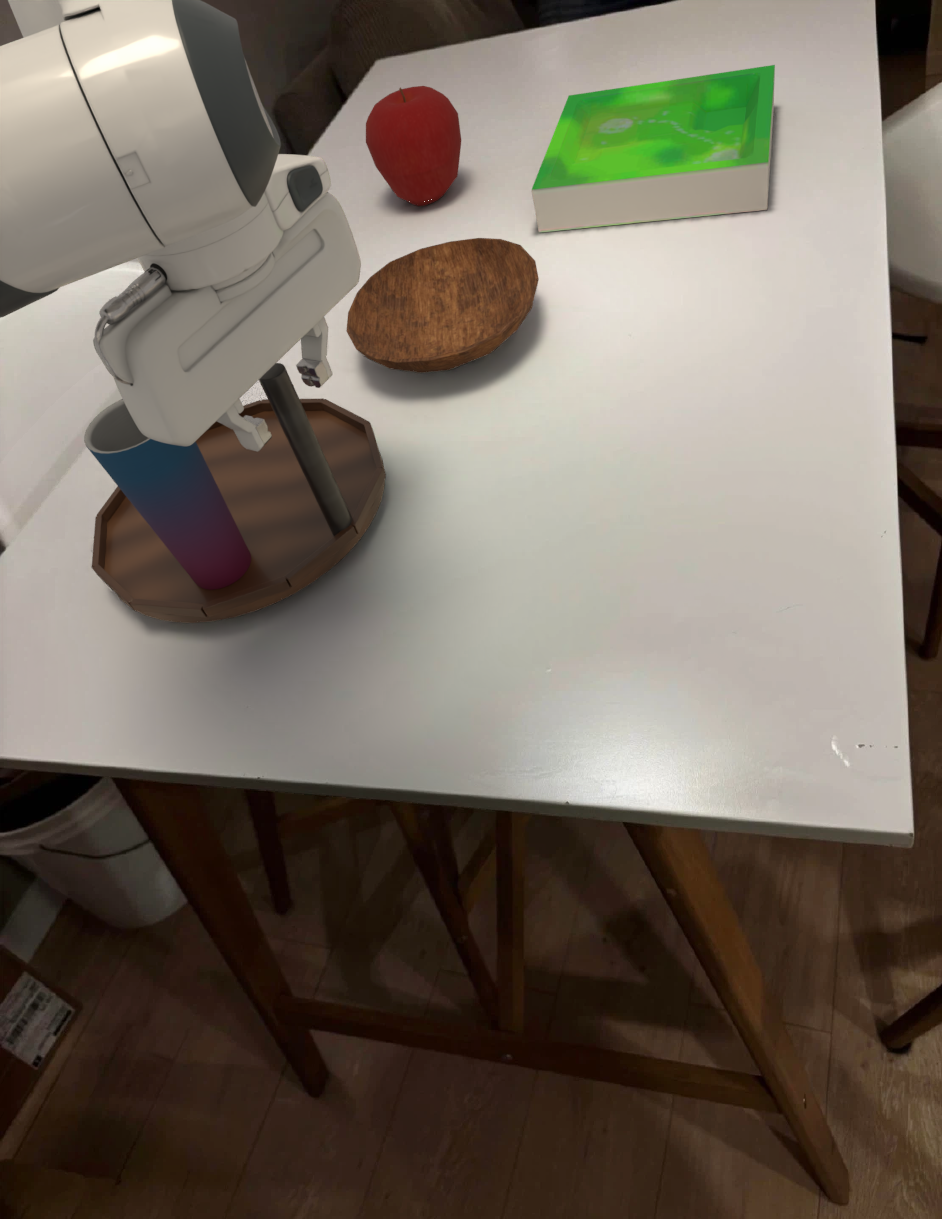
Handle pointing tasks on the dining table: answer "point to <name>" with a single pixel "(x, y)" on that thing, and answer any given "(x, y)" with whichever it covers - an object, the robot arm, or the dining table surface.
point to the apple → (415, 143)
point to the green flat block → (659, 152)
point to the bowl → (443, 304)
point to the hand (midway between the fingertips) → (289, 411)
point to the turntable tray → (257, 510)
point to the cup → (172, 497)
